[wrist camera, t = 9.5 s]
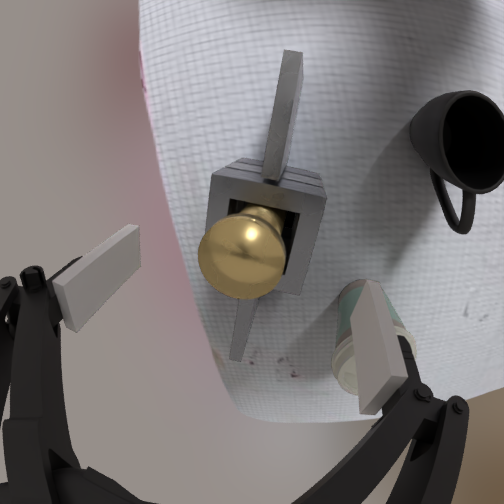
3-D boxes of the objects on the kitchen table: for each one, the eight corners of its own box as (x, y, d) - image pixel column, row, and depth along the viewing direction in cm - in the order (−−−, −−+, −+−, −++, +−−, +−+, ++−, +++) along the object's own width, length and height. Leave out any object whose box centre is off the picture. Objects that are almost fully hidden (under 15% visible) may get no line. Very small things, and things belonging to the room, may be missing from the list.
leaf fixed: (242, 157, 28) (211, 173, 19) (319, 173, 27) (326, 197, 18) (222, 295, 35) (196, 349, 27) (283, 310, 35) (274, 369, 26)
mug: (392, 201, 26) (425, 235, 18) (397, 90, 21) (437, 77, 13) (453, 209, 25) (497, 243, 17) (462, 106, 20) (514, 107, 11)
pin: (255, 172, 28) (202, 211, 14) (300, 182, 28) (292, 231, 14) (247, 215, 30) (195, 287, 16) (291, 225, 30) (273, 307, 16)
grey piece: (257, 70, 23) (232, 44, 14) (337, 85, 23) (354, 64, 14) (231, 228, 31) (201, 272, 22) (302, 244, 30) (299, 295, 22)
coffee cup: (319, 281, 32) (321, 355, 21) (387, 259, 29) (419, 327, 19) (337, 332, 35) (341, 406, 24) (397, 314, 32) (420, 385, 21)
